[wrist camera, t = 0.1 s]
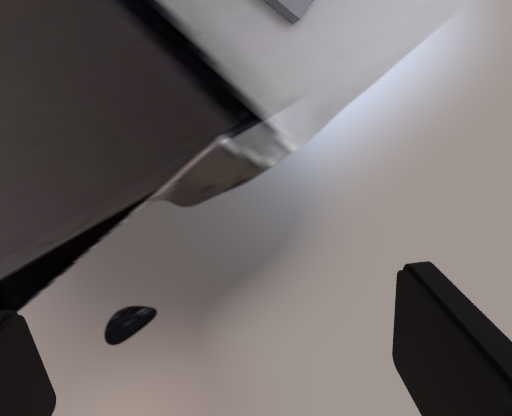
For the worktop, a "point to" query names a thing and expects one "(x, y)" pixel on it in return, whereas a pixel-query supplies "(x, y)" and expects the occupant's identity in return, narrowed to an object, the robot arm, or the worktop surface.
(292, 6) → the switch unit
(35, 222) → the worktop surface
